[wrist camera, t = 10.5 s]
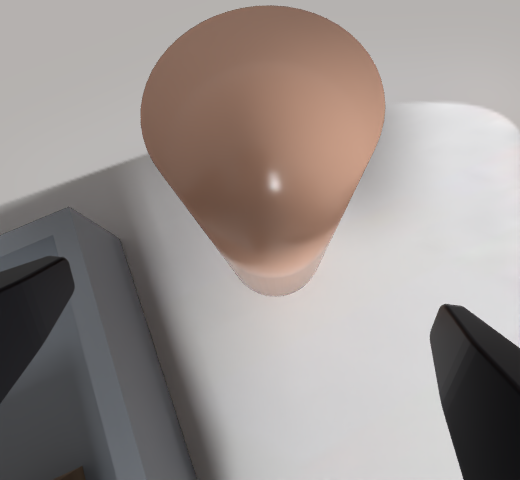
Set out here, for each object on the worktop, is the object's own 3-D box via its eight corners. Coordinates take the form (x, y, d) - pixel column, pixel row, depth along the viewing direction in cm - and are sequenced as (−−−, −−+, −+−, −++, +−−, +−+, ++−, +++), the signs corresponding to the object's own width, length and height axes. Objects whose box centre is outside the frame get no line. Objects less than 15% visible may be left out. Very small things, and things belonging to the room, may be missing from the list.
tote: (234, 595, 15) (211, 708, 11) (-74, 746, 15) (-247, 941, 10) (119, 238, 21) (69, 206, 16) (-113, 337, 20) (-240, 335, 15)
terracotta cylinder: (335, 272, 19) (434, 150, 7) (252, 311, 19) (191, 259, 6) (295, 196, 20) (315, -26, 8) (217, 231, 20) (110, 58, 8)
